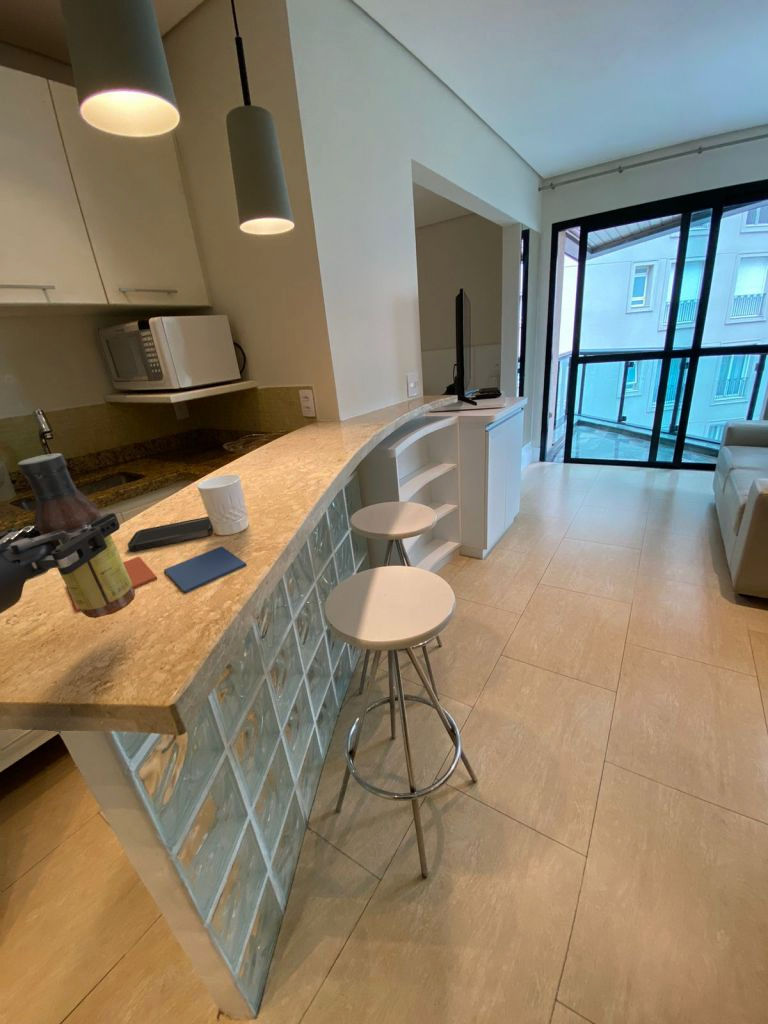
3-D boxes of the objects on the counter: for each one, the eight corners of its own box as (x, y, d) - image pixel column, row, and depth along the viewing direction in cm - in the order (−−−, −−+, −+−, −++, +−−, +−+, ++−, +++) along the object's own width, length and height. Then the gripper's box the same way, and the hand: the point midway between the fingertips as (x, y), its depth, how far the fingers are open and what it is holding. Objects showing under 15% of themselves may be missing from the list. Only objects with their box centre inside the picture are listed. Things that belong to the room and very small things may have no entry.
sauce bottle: (134, 586, 57) (80, 446, 49) (140, 606, 52) (81, 454, 44) (77, 606, 53) (10, 458, 45) (79, 629, 48) (3, 468, 41)
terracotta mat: (77, 611, 59) (76, 609, 59) (67, 585, 67) (66, 583, 67) (157, 578, 66) (156, 576, 66) (139, 558, 73) (139, 556, 73)
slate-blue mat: (184, 593, 61) (183, 591, 61) (164, 571, 68) (163, 569, 68) (246, 565, 67) (246, 563, 67) (222, 547, 74) (221, 546, 74)
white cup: (219, 541, 76) (204, 491, 73) (206, 529, 82) (191, 483, 78) (258, 526, 81) (246, 479, 77) (243, 516, 87) (231, 472, 83)
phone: (137, 530, 83) (214, 515, 86) (139, 535, 83) (215, 520, 86) (125, 547, 76) (210, 529, 79) (127, 552, 76) (211, 535, 79)
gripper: (-23, 564, 32) (131, 490, 47) (-153, 564, 35) (31, 494, 50) (20, 639, 35) (151, 547, 50) (-104, 633, 38) (56, 547, 53)
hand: (91, 520), depth 50 cm, fingers closed on sauce bottle, 6 cm apart
